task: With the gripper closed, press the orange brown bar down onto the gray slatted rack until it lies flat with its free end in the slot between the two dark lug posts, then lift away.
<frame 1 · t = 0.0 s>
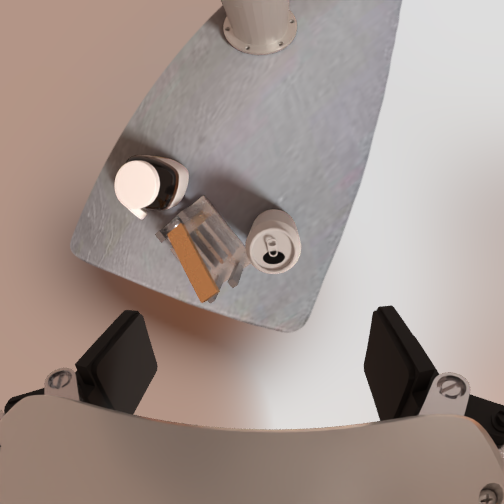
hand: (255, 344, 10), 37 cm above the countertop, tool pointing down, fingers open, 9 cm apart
gray slatted rack: (208, 244, 49), on the countertop
spread jar: (158, 187, 47), on the countertop
can: (274, 230, 47), on the countertop
orange brown bar: (189, 257, 40), point 9 cm above the countertop, hinge at 28.0°
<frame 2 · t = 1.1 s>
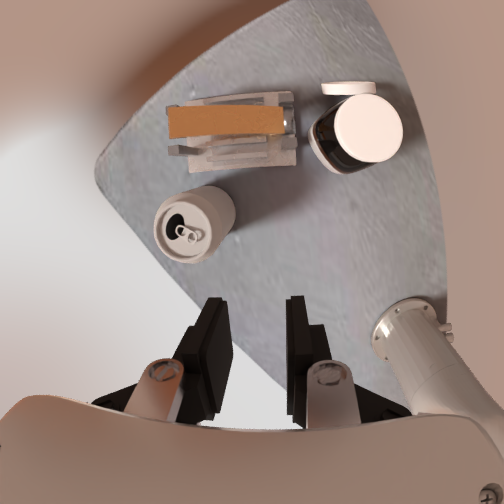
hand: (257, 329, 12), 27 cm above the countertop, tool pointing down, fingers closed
gray slatted rack: (239, 131, 34), on the countertop
spread jar: (341, 123, 33), on the countertop
can: (210, 211, 38), on the countertop
orange brown bar: (236, 119, 25), point 9 cm above the countertop, hinge at 28.0°
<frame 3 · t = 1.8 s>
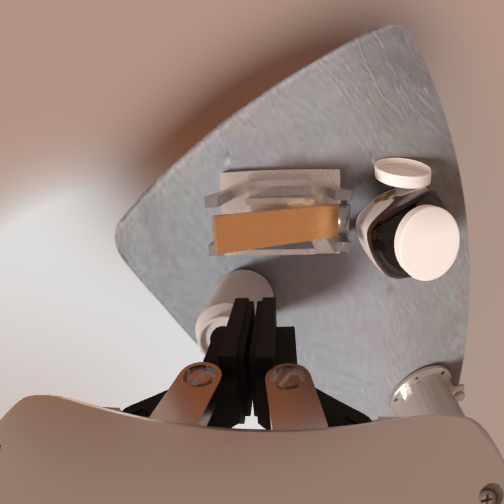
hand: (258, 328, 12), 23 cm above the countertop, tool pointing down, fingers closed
gray slatted rack: (281, 211, 33), on the countertop
spread jar: (388, 205, 32), on the countertop
can: (245, 293, 37), on the countertop
orange brown bar: (289, 225, 24), point 9 cm above the countertop, hinge at 28.0°
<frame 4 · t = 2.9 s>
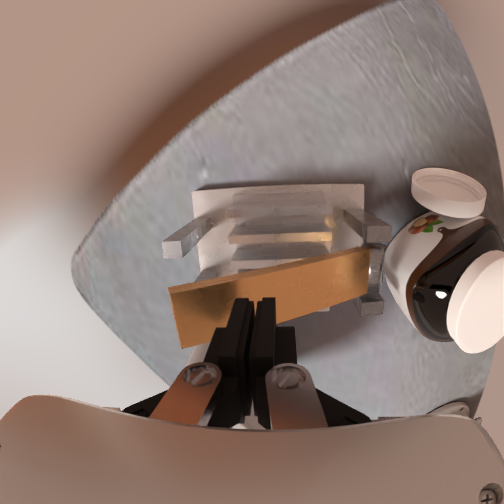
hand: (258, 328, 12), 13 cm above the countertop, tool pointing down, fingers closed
gray slatted rack: (280, 243, 24), on the countertop
spread jar: (422, 230, 22), on the countertop
can: (235, 344, 28), on the countertop
orange brown bar: (297, 289, 15), point 9 cm above the countertop, hinge at 28.0°
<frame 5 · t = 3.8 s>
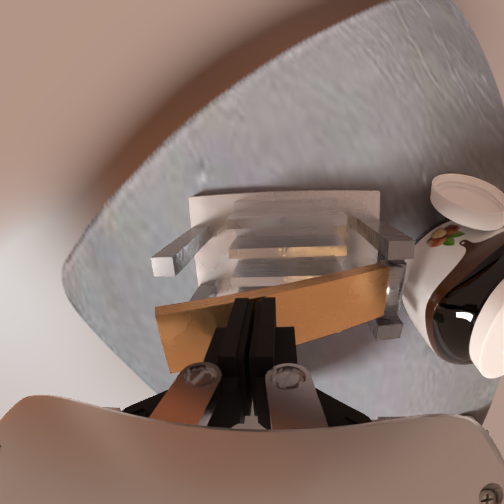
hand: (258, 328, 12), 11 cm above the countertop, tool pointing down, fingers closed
gray slatted rack: (287, 255, 22), on the countertop
spread jar: (439, 241, 20), on the countertop
orange brown bar: (304, 312, 13), point 9 cm above the countertop, hinge at 24.1°, touching gripper
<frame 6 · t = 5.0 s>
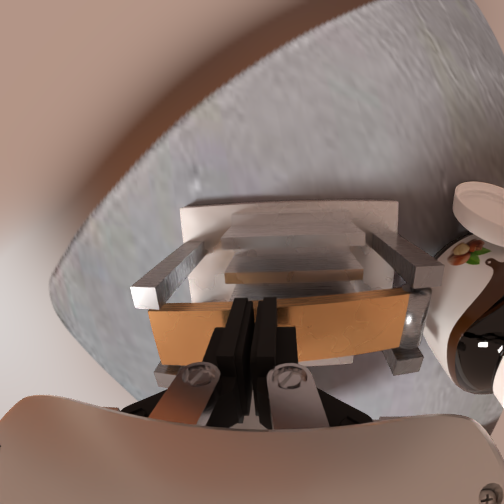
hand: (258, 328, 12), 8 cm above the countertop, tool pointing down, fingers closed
gray slatted rack: (292, 274, 19), on the countertop
spread jar: (458, 256, 17), on the countertop
can: (235, 385, 23), on the countertop
orange brown bar: (300, 330, 12), point 7 cm above the countertop, hinge at 5.8°, touching gripper
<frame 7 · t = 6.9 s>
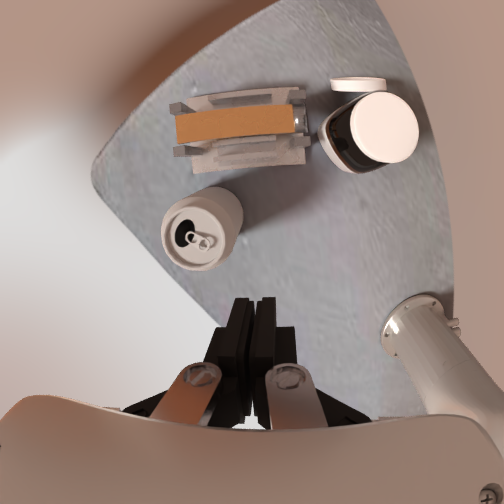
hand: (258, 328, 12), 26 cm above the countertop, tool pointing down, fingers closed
gray slatted rack: (245, 129, 33), on the countertop
spread jar: (350, 119, 32), on the countertop
can: (215, 213, 37), on the countertop
orange brown bar: (242, 121, 26), point 7 cm above the countertop, hinge at 5.6°
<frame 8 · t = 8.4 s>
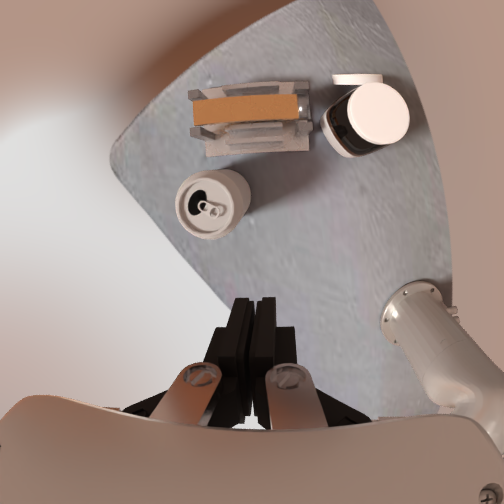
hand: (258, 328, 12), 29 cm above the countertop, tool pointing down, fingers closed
gray slatted rack: (255, 118, 35), on the countertop
spread jar: (350, 112, 34), on the countertop
can: (225, 195, 39), on the countertop
orange brown bar: (252, 108, 29), point 7 cm above the countertop, hinge at 5.6°
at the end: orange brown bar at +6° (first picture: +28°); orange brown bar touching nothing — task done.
